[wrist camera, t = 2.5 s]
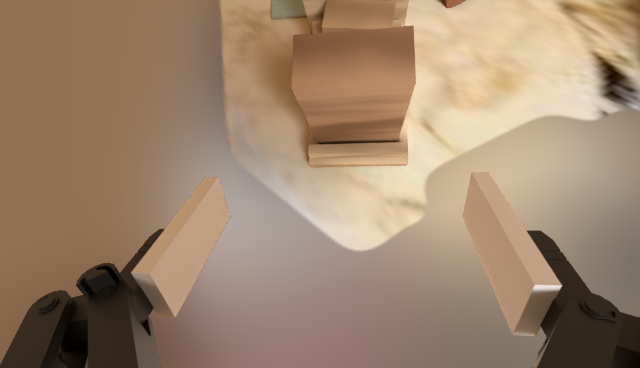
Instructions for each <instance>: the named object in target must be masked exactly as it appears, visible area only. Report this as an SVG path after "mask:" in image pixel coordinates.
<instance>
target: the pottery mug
mask: <svg viewBox="0 0 640 368" xmlns="http://www.w3.org/2000/svg"><path fill="white" fill-rule="evenodd" d="M463 1H465V0H446V8H451V7H454V6H456V5H458V4H460V3H462V2H463Z"/></svg>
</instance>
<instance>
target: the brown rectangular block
mask: <svg viewBox="0 0 640 368" xmlns="http://www.w3.org/2000/svg"><path fill="white" fill-rule="evenodd" d="M415 83H416V76H415V52H414V29H413V26H403V27H391V28H379V29H366V30H354V31H342V32H329V33H317V34H305V35H294V37H293V61H292V85H291V89H292V91H293V93H294V95H295V98H296V100H297V102H298V104H299V106H300V108H301V110H302V112H303V114H304V116H305V118H306V120H307V122H308V125H309V127H310V129H311V131H312V133H313V135H314V137H315V139H316V141H317V143H318V144H353V143H390V142H398V139H399V136H400V132H401V129H402V126H403V122H404V119H405V116H406V113H407V109H408V106H409V103H410V99H411V96H412V93H413V89H414V86H415Z"/></svg>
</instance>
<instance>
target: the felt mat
mask: <svg viewBox="0 0 640 368" xmlns="http://www.w3.org/2000/svg"><path fill="white" fill-rule="evenodd" d="M302 16H307V15H306V11H305V7H304V3H303V0H272V11H271V18H272V19H280V18H291V17H302Z"/></svg>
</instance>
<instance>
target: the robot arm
mask: <svg viewBox="0 0 640 368" xmlns="http://www.w3.org/2000/svg"><path fill="white" fill-rule="evenodd" d="M230 217H231V216H230V213H229V210H228V206H227V203H226V200H225V197H224V195H223V191H222V188H221V185H220V182H219V179H218V178H205V179H204V180H203V181H202V182H201V184H200V185H199V186H198V188H197V189H196V190H195V191H194V193H193V194H192V195H191V196H190V198H189V199H188V200H187V202H186V203H185V204H184V205H183V207H182V208H181V209H180V211H179V212H178V213H177V215H176V216H175V217H174V218H173V220H172V221H171V222H170V223H169V225H168V226H167V227H166V229H159V230H158V231H157V232H155V233H154V234H153V235H151V236H150V237H149V238H148V239H147V241H146V242H145V243H144V244H143V246H142V247H141V248H140V249H139V250H138V253H136V254H135V256H134V257H133V258H132V259H131V260H130V261H129V263H128V264H127V265H126V266H125V268H124V269H123V270H122V271H121V273H119V271H118V270H117V268H116V267H115V265H114V264H111V263H103V264H100V265H97V266H95V267H93V268H91V269H89V270H88V271H86V272H85V273H84V274H82V276H81V277H80V278H79V280H78V281H77V284H76V286H77V287H78V288H79V290H80V291H81V292H82V293H83V295H81V296H77V297H73V298H71V297H70V296H69V294H68V293H67V292H66V291H62V290H60V291H54V292H52V293H49V294H47V295H45V296H43V297H42V298H40V299H39V300H37V301H36V302H35V303H34V304H33V305H32V306H31V307H30V309H29V310H28V312H27V314H26V316H25V318H24V319H23V321H22V323H21V325H20V328H19V329H18V331H17V333H16V335H15V337H14V339H13V341H12V343H11V345H10V347H9V349H8V351H7V353H6V355H5V357H4V359H3V361H2V363H1V364H0V368H161V364H160V359H159V354H158V350H157V345H156V341H155V336H154V331H153V327H152V322H151V320H150V318H149V314H150V313H151V311H152V310H153V309H154V310H155V312H156V313H157V315H158V316H159V317H172V318H175V317H176V316H177V314H178V312H179V310H180V308H181V306H182V305H183V303H184V301H185V299H186V297H187V295H188V294H189V292H190V290H191V288H192V286H193V285H194V283H195V281H196V279H197V277H198V275H199V274H200V272H201V270H202V268H203V266H204V264H205V263H206V261H207V259H208V257H209V255H210V253H211V252H212V250H213V248H214V246H215V244H216V242H217V241H218V239H219V237H220V235H221V233H222V231H223V230H224V228H225V226H226V224H227V222H228V221H229V219H230ZM463 218H464V221H465V224H466V226H467V228H468V231H469V233H470V235H471V238H472V240H473V242H474V245H475V247H476V250H477V252H478V254H479V257H480V259H481V261H482V264H483V266H484V268H485V271H486V273H487V275H488V278H489V280H490V283H491V285H492V287H493V290H494V292H495V294H496V297H497V299H498V302H499V304H500V306H501V309H502V311H503V313H504V316H505V318H506V320H507V323H508V325H509V328H510V329H511V332H512V335H523V336H536V335H537V333H538V331H539V329H540V327H542V329H543V331H544V333H545V335H546V337H547V338H546V340H545V342H544V343H543V346H542V347H541V349H540V351H539V353H538V357H537V359H536V361H535V363H534V365H533V368H640V318H639V317H635V316H632V315H628V314H625V313H622V312H620V311H619V310H618V308H616V307H615V306H614V305H613V304H612V303H611V302H610V301H608V300H606V299H604V298H603V297H601V296H599V295H596V294H593V293H591V292H590V290H589V289H588V288H587V286H586V285H585V283H584V282H583V281H582V279H581V278H580V276H579V275H578V274H577V272H576V271H575V270H574V268H573V267H572V265H571V264H570V263H569V261H567V260H566V257H565V256H564V254H563V253H562V252H560V249H559V248H558V246H557V245H556V244H555V242H554V241H553V240H552V239H551V238H550V237H548V236H547V235H545V234H544V233H543V232H542V231H526V229H525V228H524V226H523V225H522V224H521V222H520V220H519V219H518V217H517V216H516V214H515V212H514V211H513V209H512V208H511V206H510V205H509V203H508V202H507V200H506V199H505V197H504V196H503V194H502V192H501V191H500V189H499V188H498V186H497V185H496V183H495V182H494V180H493V179H492V177H491V176H490V174H489V173H488V172H483V173H481V172H479V173H471V178H470V183H469V188H468V193H467V198H466V202H465V207H464V212H463Z"/></svg>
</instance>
